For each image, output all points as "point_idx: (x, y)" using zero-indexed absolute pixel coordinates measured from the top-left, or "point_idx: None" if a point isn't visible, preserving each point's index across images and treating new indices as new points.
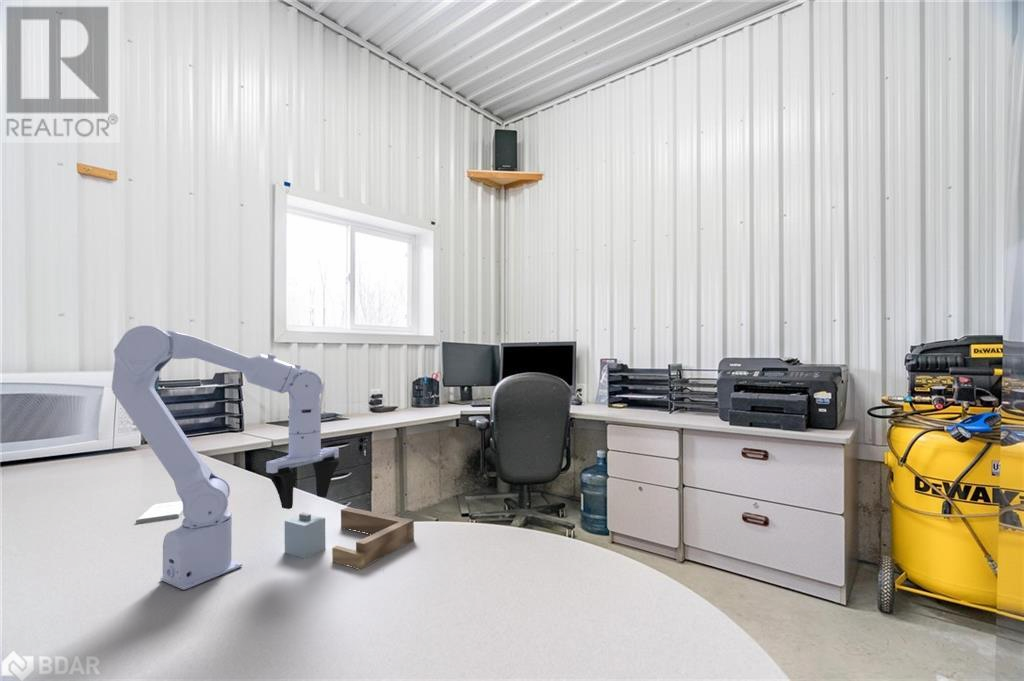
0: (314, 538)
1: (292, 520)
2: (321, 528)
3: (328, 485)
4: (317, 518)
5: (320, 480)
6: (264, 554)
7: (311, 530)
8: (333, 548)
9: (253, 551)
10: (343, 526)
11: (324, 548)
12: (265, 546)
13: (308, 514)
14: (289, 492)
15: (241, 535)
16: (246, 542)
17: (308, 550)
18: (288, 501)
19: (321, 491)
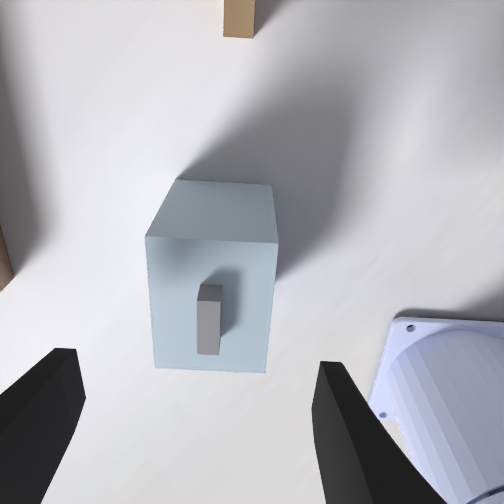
0: (223, 205)
1: (245, 350)
2: (179, 216)
3: (2, 399)
4: (171, 268)
5: (21, 486)
6: (300, 331)
7: (238, 224)
8: (252, 29)
9: (295, 374)
10: (4, 270)
11: (180, 180)
12: (254, 373)
13: (202, 311)
14: (390, 451)
15: (229, 475)
16: (257, 433)
17: (255, 192)
18: (363, 399)
19: (63, 398)
